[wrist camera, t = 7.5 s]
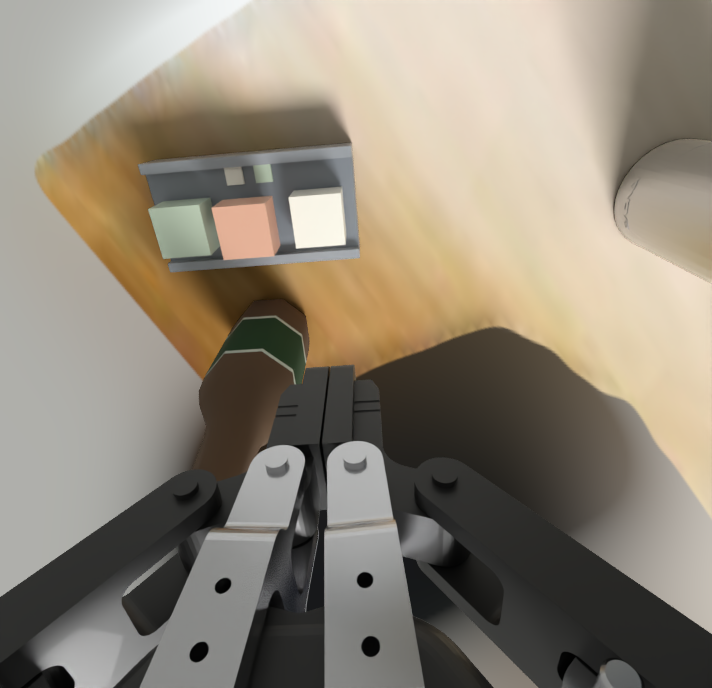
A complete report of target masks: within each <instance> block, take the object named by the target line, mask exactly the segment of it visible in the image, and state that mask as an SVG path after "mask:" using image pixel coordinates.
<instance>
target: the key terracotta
mask: <svg viewBox="0 0 712 688" xmlns="http://www.w3.org/2000/svg"><path fill="white" fill-rule="evenodd" d="M212 213H213V217H214V221H215V225H216V230H217V234H218V238H219V242H220V247H221V251H222V255H223V259H224V260H232V259H245V258H258V257H271V256H275V254H276V252H277V251H278V249H279V247H280V239H279V233H278V227H277V221H276V215H275V209H274V203H273V197H272V196H262V197H250V198H238V199H226V200H222V201H220V202H219V203H217V204H216V205H215V206H213V207H212Z"/></svg>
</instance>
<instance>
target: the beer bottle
mask: <svg viewBox="0 0 712 688" xmlns="http://www.w3.org/2000/svg"><path fill="white" fill-rule="evenodd" d="M308 351H309V334H308V327H307V321H306V316H305V315H304V314H302V313H301V312H300V311H298V310H297V309H296V308H294V307H293V306H292V305H290V304H289V303H288V302H286V301H285V300H284V299H273V300H258V301H253V302H252V304H251V305H250V306H249V307H248V309H247V310H246V311H245V312H244V314H243V315H242V316H241V317H240V319H239V320H238V321H237V323H236V324H235V325H234V327H233V328H232V330H231V332H230V333H229V335H228V337H227V339H226V340H225V342H224V344H223V346H222V347H221V349H220V351H219V353H218V355H217V356H216V358H215V360H214V362H213V363H212V365H211V367H210V369H209V370H208V372H207V374H206V376H205V377H204V380H203V382H202V385H201V387H200V390H199V405H200V409H201V412H202V415H203V418H204V421H205V425H206V429H205V434H204V439H203V441H202V444H201V447H200V449H199V452H198V455H197V458H196V460H195V463H194V466H193V469H192V470H195V469H201V470H206V471H209V472H211V473H212V474H213V475H214V476H215V478H216V481H221V480H224V479H227V478H231V477H234V476H237V475H240V474H242V473H245V472H247V471H248V469H249V466H250V464H251V462H252V460H253V459H254V458H255V457H256V456H257V453H258V451H259V449H260V447H262V446H264V445H265V444H266V443H268V440H269V436H270V433H271V429H272V426H273V422H274V418H275V415H276V411H277V408H278V404H279V400H280V396H281V394H282V393H283V392H284V391H285V390H286V389H287V388H288V387H289V386H290V385H293V384H302V379H303V375H304V370H305V365H306V360H307V355H308Z"/></svg>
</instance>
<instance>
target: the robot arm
mask: <svg viewBox="0 0 712 688" xmlns="http://www.w3.org/2000/svg"><path fill="white" fill-rule="evenodd" d="M614 214H615V221H616V224H617V226H618V229H619V231H620V232H621V233H622V235H623V236H624V237H625V238H626V239H627V240H629V241H630V242H632V243H633V244H635V245H637V246H639V247H641V248H643V249H645V250H647V251H649V252H651V253H653V254H655V255H656V256H658V257H660V258H662V259H664V260H666V261H668V262H670V263H672V264H674V265H676V266H678V267H680V268H682V269H684V270H685V271H687V272H689V273H691V274H693V275H695V276H697V277H699V278H701V279H703V280H705V281H707V282H709V283H711V284H712V141H708V140H698V139H678V140H675V141H671V142H668V143H665V144H663V145H661V146H659V147H657V148H655V149H653V150H652V151H650V152H649V153H647V154H646V155H645V156H643V157H642V158H641V159H640V160H639V161H638V162H637V163H636V164H635V165H634V166H633V167H632V168H631V170H630V171H629V172H628V174H627V175H626V176H625V178H624V180H623V182H622V184H621V186H620V188H619V190H618V193H617V196H616V200H615V208H614ZM320 510H327V512H328V526H327V527H325V536H324V537H325V539H324V542H325V543H324V546H325V549H324V553H325V554H324V557H325V560H324V561H325V563H324V564H325V567H324V568H325V570H324V571H325V572H324V573H325V606H324V607H321V608H317V609H314V610H311V611H308V612H306V602H307V597H308V591H309V586H310V580H311V575H312V569H313V564H314V558H315V552H316V547H317V542H318V521H319V511H320ZM174 548H176V550H177V552H178V553H177V554H176V555H175V556H173V557H172V558H171V559H170V560H169V561H167V562H166V563H165V564H164V565H162V566H161V567H160V568H159V569H158V570H156V571H155V572H154V573H153V574H152V575H150V576H149V577H148V578H147V579H146V580H144V581H143V582H142V583H141V584H140V585H139V586H137V587H136V588H135V589H133V590H132V591H131V592H130V593H129V594H127V595H126V596H124V597H123V594H124V592H125V590H126V589H127V588H128V586H130V585H131V584H132V582H134V581H135V580H136V579H137V578H139V577H140V576H141V575H142V574H143V573H145V572H146V571H147V570H148V569H150V568H151V567H152V566H153V565H154V564H155V563H157V562H158V561H159V560H161V559H162V558H163V557H164V556H166V555H167V554H168V553H169V552H170V551H172V550H173V549H174ZM402 556H404V557H408V558H412V559H415V560H417V563H418V565H419V567H420V569H421V570H422V571H423V572H424V573H425V574H426V575H427V576H428V577H429V578H430V579H431V580H432V581H433V582H434V583H435V584H436V585H437V586H438V587H439V588H440V589H441V590H442V591H443V592H444V593H445V594H446V595H447V596H448V597H449V598H450V599H451V600H452V601H453V602H454V603H455V604H456V605H457V606H458V607H459V608H460V609H461V610H462V611H463V612H464V613H465V614H466V615H467V616H468V617H469V618H470V619H471V620H472V621H473V622H474V623H475V624H476V625H477V626H478V627H479V628H480V629H481V630H482V631H483V632H484V633H485V634H486V635H487V636H488V637H489V638H490V639H491V640H492V641H493V642H494V643H495V644H496V645H497V646H498V647H499V648H500V649H501V650H502V651H503V652H504V653H505V654H506V655H507V656H508V657H509V658H510V659H511V660H512V661H513V662H514V663H515V664H516V665H517V666H518V667H519V668H520V669H521V670H522V671H523V672H524V673H525V674H526V675H527V676H528V677H529V678H530V679H531V680H532V681H533V682H534V683H535V684H536V685H537V686H538V687H539V688H712V634H711V633H709V632H708V631H706V630H705V629H704V628H702V627H700V626H699V625H698V624H696V623H695V622H693V621H692V620H690V619H689V618H687V617H686V616H685V615H683V614H682V613H680V612H679V611H677V610H676V609H674V608H673V607H671V606H670V605H668V604H667V603H666V602H664V601H663V600H661V599H660V598H658V597H657V596H656V595H654V594H653V593H651V592H650V591H648V590H647V589H645V588H644V587H642V586H641V585H640V584H638V583H637V582H635V581H634V580H632V579H631V578H629V577H628V576H626V575H625V574H624V573H622V572H620V571H619V570H617V569H616V568H615V567H613V566H612V565H610V564H609V563H607V562H606V561H604V560H603V559H602V558H600V557H599V556H597V555H596V554H594V553H593V552H592V551H590V550H589V549H587V548H586V547H584V546H583V545H581V544H580V543H578V542H577V541H575V540H574V539H573V538H571V537H570V536H568V535H567V534H565V533H564V532H562V531H561V530H560V529H558V528H556V527H555V526H554V525H552V524H551V523H549V522H548V521H546V520H545V519H543V518H542V517H541V516H539V515H538V514H536V513H535V512H533V511H532V510H530V509H529V508H528V507H526V506H524V505H523V504H522V503H520V502H519V501H517V500H516V499H514V498H513V497H512V496H510V495H508V494H507V493H506V492H504V491H503V490H501V489H500V488H498V487H497V486H496V485H494V484H493V483H491V482H490V481H488V480H487V479H485V478H484V477H482V476H481V475H480V474H478V473H477V472H475V471H474V470H472V469H471V468H469V467H468V466H466V465H465V464H463V463H461V462H460V461H457V460H455V459H450V458H442V457H440V458H433V459H430V460H427V461H425V462H423V463H422V464H421V465H420V466H419V467H418V468H417V469H415V468H410V467H406V466H402V465H400V464H397V463H396V462H394V461H392V460H391V459H389V457H388V456H387V455H386V454H385V452H384V450H383V444H382V428H381V413H380V398H379V389H378V387H377V386H376V385H375V383H374V382H373V381H372V380H356V376H355V367H354V365H343V366H331V369H330V367H313V368H306V370H305V375H304V380H303V384H293V385H290V386H289V387H288V388H287V389H286V390H285V391H284V392H283V393H282V394H281V396H280V400H279V404H278V408H277V411H276V415H275V418H274V422H273V426H272V429H271V433H270V436H269V440H268V444H267V448H266V449H265V450H264V451H262V452H260V453H259V454H258V455H257V456H256V457H255V458H254V459H253V460H252V462H251V464H250V466H249V469H248V471H247V472H245V473H242V474H240V475H237V476H234V477H231V478H227V479H224V480H221V481H216V478H215V476H214V475H213V474H212V473H211V472H209V471H206V470H201V469H195V470H190V471H186V472H183V473H180V474H178V475H176V476H174V477H173V478H171V479H170V480H168V481H167V482H166V483H164V484H163V485H161V486H160V487H159V488H157V489H155V490H154V491H152V492H151V493H150V494H148V495H147V496H145V497H144V498H142V499H141V500H140V501H138V502H137V503H135V504H134V505H133V506H131V507H130V508H128V509H127V510H125V511H124V512H122V513H121V514H119V515H118V516H117V517H115V518H114V519H112V520H111V521H109V522H108V523H107V524H105V525H104V526H102V527H101V528H99V529H98V530H96V531H95V532H93V533H92V534H91V535H89V536H88V537H86V538H85V539H83V540H82V541H80V542H79V543H78V544H76V545H75V546H73V547H72V548H71V549H69V550H67V551H66V552H65V553H63V554H62V555H60V556H59V557H57V558H56V559H55V560H53V561H52V562H50V563H49V564H47V565H46V566H44V567H43V568H42V569H40V570H39V571H37V572H36V573H34V574H33V575H31V576H30V577H28V578H27V579H26V580H24V581H23V582H21V583H20V584H18V585H17V586H16V587H14V588H13V589H11V590H10V591H9V592H7V593H6V594H4V595H3V596H1V597H0V688H493V687H492V685H491V684H490V683H489V682H488V681H487V680H486V678H485V677H484V676H483V675H482V674H481V673H480V671H479V670H478V669H477V668H476V667H475V666H474V664H473V663H472V662H471V661H470V660H469V659H468V658H467V656H466V655H465V654H464V653H463V652H462V651H461V649H460V648H459V647H458V646H457V645H456V644H455V643H454V642H453V641H452V640H451V639H450V638H449V637H447V636H446V635H445V634H444V633H443V632H441V631H440V630H438V629H437V628H435V627H434V626H433V625H431V624H429V623H427V622H425V621H423V620H421V619H419V618H416V617H414V616H412V611H411V605H410V599H409V594H408V588H407V582H406V576H405V571H404V565H403V559H402Z"/></svg>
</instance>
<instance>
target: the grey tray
mask: <svg viewBox="0 0 712 688" xmlns="http://www.w3.org/2000/svg"><path fill="white" fill-rule="evenodd" d="M138 167H139V170H140V173H141V175H146V178H147V181H148V184H149V188H150V191H151V194H152V198H153V201H154V205H157V204H159V203H161V202H163V201H174V200H186V199H198V198H211V202H212V207H213V206H215V205H216V204H217V203H219V202H220V201H222V200H226V199H238V198H250V197H262V196H272V197H273V203H274V209H275V215H276V221H277V227H278V233H279V239H280V247H279V249H278V251H277V252H276V254H275V256H271V257H258V258H245V259H232V260H224V259H223V255H222V251H221V247H219V248H218V249H217V250H216V251H215V252H214V253H213V254H212V255H208V256H195V257H182V258H170V259H171V261H170V262H169V263H168V266H169V270H170V272H181V271H194V270H208V269H221V268H234V267H248V266H261V265H274V264H287V263H301V262H314V261H327V260H340V259H354V258H360V243H359V230H358V217H357V204H356V191H355V178H354V166H353V153H352V143H340V144H329V145H318V146H306V147H295V148H283V149H272V150H261V151H249V152H238V153H227V154H215V155H204V156H193V157H181V158H170V159H158V160H152V161H149V162H145V163H142V164H138ZM341 186H342V191H343V202H344V213H345V224H346V244H345V245H337V246H324V247H311V248H298V249H296V244H295V238H294V231H293V224H292V218H291V211H290V204H289V198H288V197H289V196H290V195H291V193H292V192H293V191H294V190H305V189H317V188H329V187H341Z"/></svg>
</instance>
